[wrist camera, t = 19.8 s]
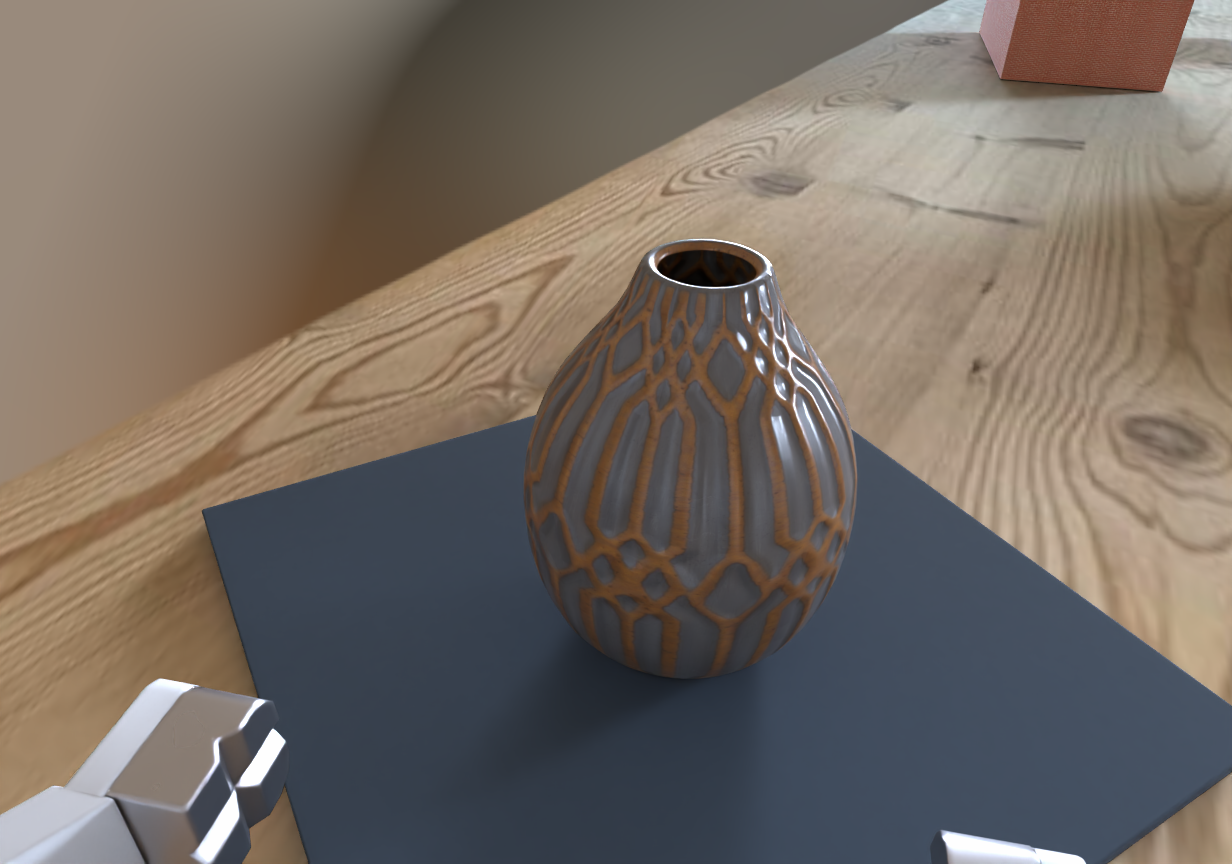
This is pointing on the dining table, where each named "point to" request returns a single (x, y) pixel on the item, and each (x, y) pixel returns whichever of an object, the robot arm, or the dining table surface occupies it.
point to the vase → (691, 470)
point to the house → (1085, 40)
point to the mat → (688, 690)
